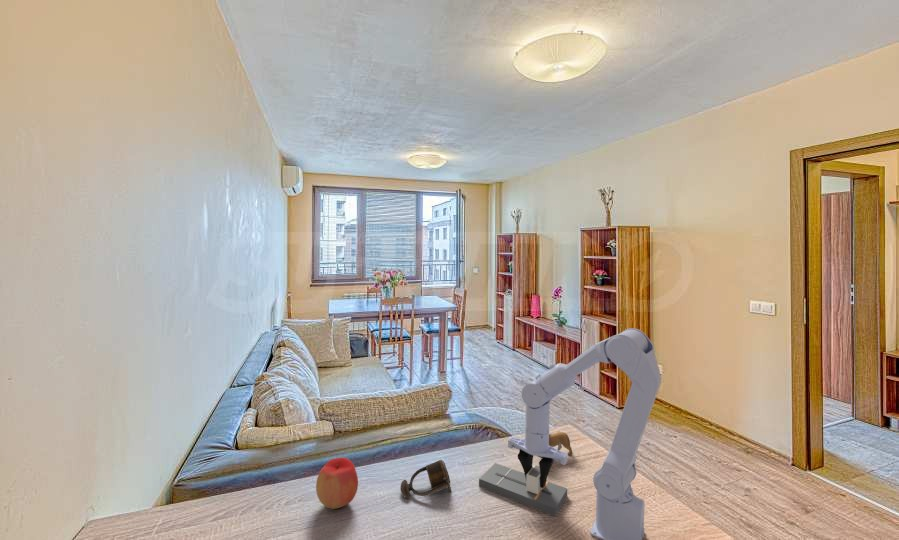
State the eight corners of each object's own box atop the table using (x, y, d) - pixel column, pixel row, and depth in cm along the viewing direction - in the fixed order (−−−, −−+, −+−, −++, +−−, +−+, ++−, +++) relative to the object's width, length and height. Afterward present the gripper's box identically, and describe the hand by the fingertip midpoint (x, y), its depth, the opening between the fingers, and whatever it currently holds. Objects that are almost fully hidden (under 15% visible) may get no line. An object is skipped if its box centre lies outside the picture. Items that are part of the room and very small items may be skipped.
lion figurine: (539, 466, 108) (540, 435, 108) (527, 457, 113) (527, 427, 113) (577, 454, 115) (578, 424, 115) (564, 446, 120) (565, 418, 119)
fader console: (567, 496, 95) (567, 488, 95) (555, 516, 88) (555, 507, 88) (495, 469, 106) (495, 462, 106) (478, 486, 99) (479, 478, 99)
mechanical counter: (451, 484, 91) (455, 454, 100) (398, 476, 92) (407, 447, 101) (449, 508, 93) (453, 476, 102) (397, 500, 94) (406, 469, 103)
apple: (320, 494, 95) (319, 454, 95) (359, 490, 97) (359, 451, 96) (313, 520, 86) (312, 477, 85) (356, 516, 87) (356, 473, 87)
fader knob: (545, 484, 96) (545, 468, 96) (537, 494, 92) (538, 477, 92) (533, 480, 98) (534, 464, 98) (526, 490, 94) (526, 473, 94)
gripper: (571, 430, 94) (570, 485, 94) (516, 416, 102) (515, 466, 102) (562, 442, 88) (561, 500, 88) (504, 426, 96) (503, 479, 96)
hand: (536, 483), depth 95 cm, fingers closed on fader knob, 3 cm apart
